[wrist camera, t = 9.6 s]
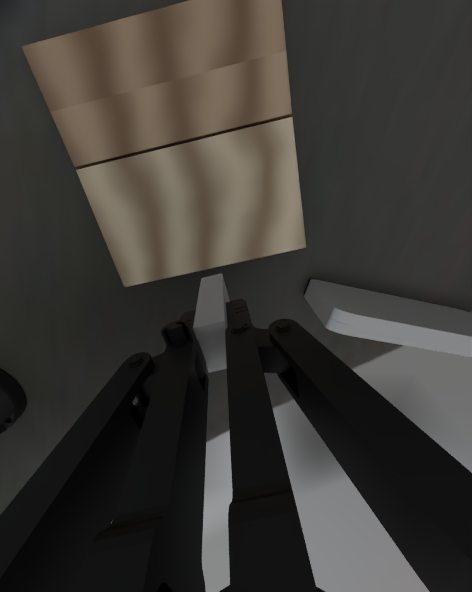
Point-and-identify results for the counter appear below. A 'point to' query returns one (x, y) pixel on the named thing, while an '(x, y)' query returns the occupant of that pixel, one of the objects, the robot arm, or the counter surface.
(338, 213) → the counter surface
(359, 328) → the decorative sign
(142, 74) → the floor strip
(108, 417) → the robot arm
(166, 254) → the plank
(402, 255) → the counter surface
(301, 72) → the counter surface
